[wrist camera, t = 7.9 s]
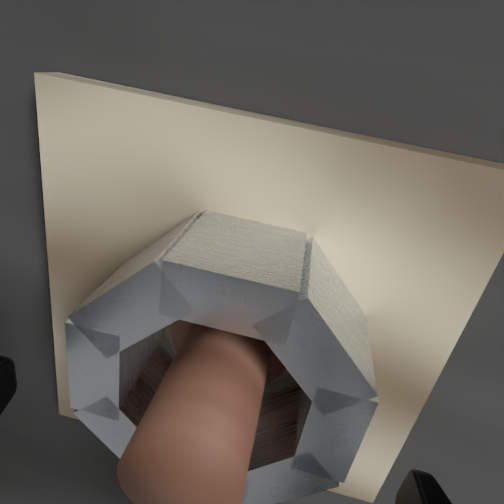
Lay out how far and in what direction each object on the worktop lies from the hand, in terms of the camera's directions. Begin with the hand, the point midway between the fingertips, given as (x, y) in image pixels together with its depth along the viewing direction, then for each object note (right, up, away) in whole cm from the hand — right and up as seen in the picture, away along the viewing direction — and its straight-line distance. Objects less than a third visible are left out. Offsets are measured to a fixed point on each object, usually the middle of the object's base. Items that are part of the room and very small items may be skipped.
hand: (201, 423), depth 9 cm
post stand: (+1, +2, +4) cm, 4 cm away
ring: (+1, +1, +3) cm, 4 cm away
